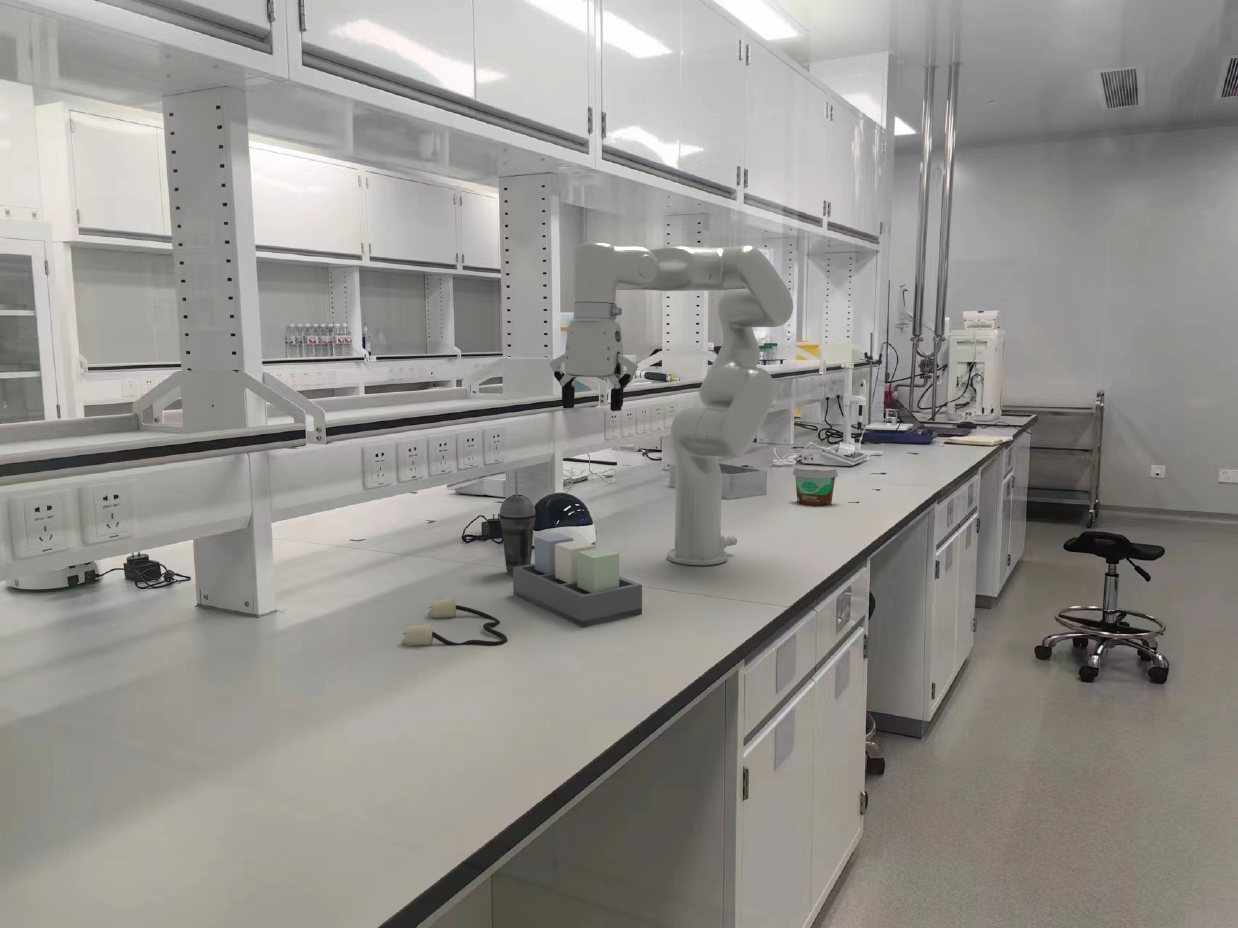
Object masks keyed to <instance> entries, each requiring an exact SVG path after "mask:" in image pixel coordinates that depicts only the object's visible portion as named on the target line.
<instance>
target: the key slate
mask: <svg viewBox="0 0 1238 928" xmlns="http://www.w3.org/2000/svg"><path fill="white" fill-rule="evenodd" d="M533 539H534V545H533V546H534V548H533V549H534V551H533V552H534V564H535V569H536V570H538V571H540V572H543V573H545V574H550V573H555V544H558V543H564V542H570V541H574V537H571V536H569V535H565V534H562V533H559V532H555V533H550V534H549V533H548V534H543V535H537V536H533Z"/></svg>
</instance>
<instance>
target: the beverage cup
mask: <svg viewBox="0 0 1238 928" xmlns="http://www.w3.org/2000/svg"><path fill="white" fill-rule="evenodd" d="M518 485H519V483H518V471H514V491H515V492H514V493H515V494H512V495H509V496H508V497H506V498H505V499H504V501H503V502H502V503H501V505H500V508H499V514H498V518H499V522H500V526H501V531H502V541H503V542H502V543H503V550H504V551H503V552H504V561H505V562H504V563H505V567H506V574H507V575H508V576H511V577H513V567H518V566H524V565H530V564H532V554H533V553H532V552H533V539H534V527H535V523H536V517H537V513H536V508H535V505H534V504H533V502H532V500H531V499H530V498H528V497H527V496H525V495H523V494H519V487H518Z"/></svg>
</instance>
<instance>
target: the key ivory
mask: <svg viewBox="0 0 1238 928" xmlns="http://www.w3.org/2000/svg"><path fill="white" fill-rule="evenodd" d="M591 549H596V545H595V544H592V543H589V542H586V541H583V540H580V539H578V540H573V541H570V542H564V543H558V544H555V578H557V579H560V580H562V581H565V582H567V583H570V582H575V581H577V552H580V551H586V550H591Z"/></svg>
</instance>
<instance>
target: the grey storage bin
mask: <svg viewBox="0 0 1238 928" xmlns="http://www.w3.org/2000/svg"><path fill="white" fill-rule="evenodd" d="M718 464H719V466H720V470H721V475H722V487H721V499H727V500H735V499H742V498H749V497H756V496H757V497H758V496H763V495H767V494H768V493H767V492H768V491H767V488H768V487H767V485H768V470H764V469H758V468H753V467H746V466H742V465H741V466H740V465H735V464H729V463H722V462H718ZM675 485H676V467H675V463H670V464H669V487H671V488H674V489H675Z"/></svg>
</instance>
